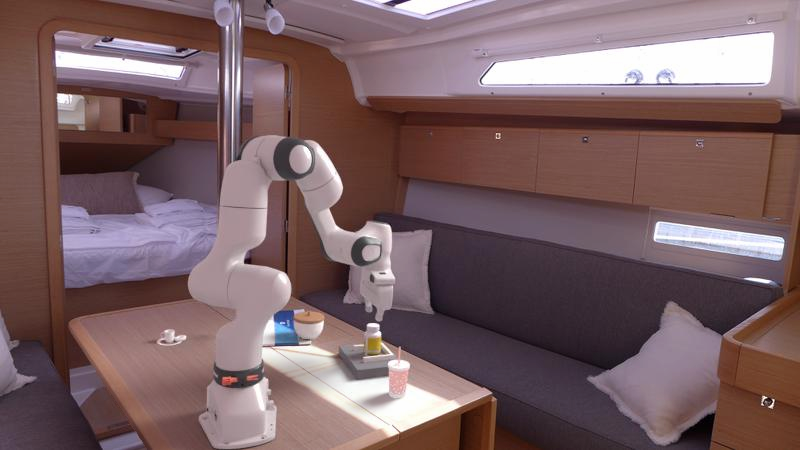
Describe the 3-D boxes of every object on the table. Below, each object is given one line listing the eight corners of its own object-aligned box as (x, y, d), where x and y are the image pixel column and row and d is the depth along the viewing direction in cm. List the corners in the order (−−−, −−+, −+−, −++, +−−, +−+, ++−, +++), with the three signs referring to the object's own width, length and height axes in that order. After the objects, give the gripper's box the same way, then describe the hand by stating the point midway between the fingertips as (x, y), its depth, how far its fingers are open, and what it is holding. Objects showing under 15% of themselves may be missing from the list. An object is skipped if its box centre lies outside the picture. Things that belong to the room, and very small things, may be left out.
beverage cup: (386, 388, 158) (389, 342, 156) (408, 390, 157) (411, 343, 155) (385, 398, 152) (388, 350, 149) (407, 400, 151) (410, 351, 149)
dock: (403, 374, 168) (404, 360, 167) (357, 379, 162) (357, 365, 162) (381, 350, 186) (382, 337, 186) (338, 354, 181) (339, 341, 180)
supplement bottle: (383, 355, 174) (385, 325, 173) (371, 359, 170) (372, 329, 169) (372, 350, 178) (373, 321, 176) (359, 354, 174) (360, 324, 172)
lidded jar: (321, 343, 190) (321, 317, 188) (290, 341, 190) (290, 315, 188) (325, 332, 200) (326, 307, 199) (296, 331, 200) (297, 306, 199)
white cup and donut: (189, 339, 188) (189, 328, 187) (177, 348, 180) (177, 336, 179) (164, 337, 189) (164, 325, 188) (151, 345, 181) (151, 333, 180)
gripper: (356, 265, 178) (354, 307, 180) (377, 280, 160) (374, 326, 161) (374, 265, 181) (372, 306, 183) (397, 280, 162) (394, 325, 164)
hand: (373, 316), depth 172 cm, fingers open, 8 cm apart
